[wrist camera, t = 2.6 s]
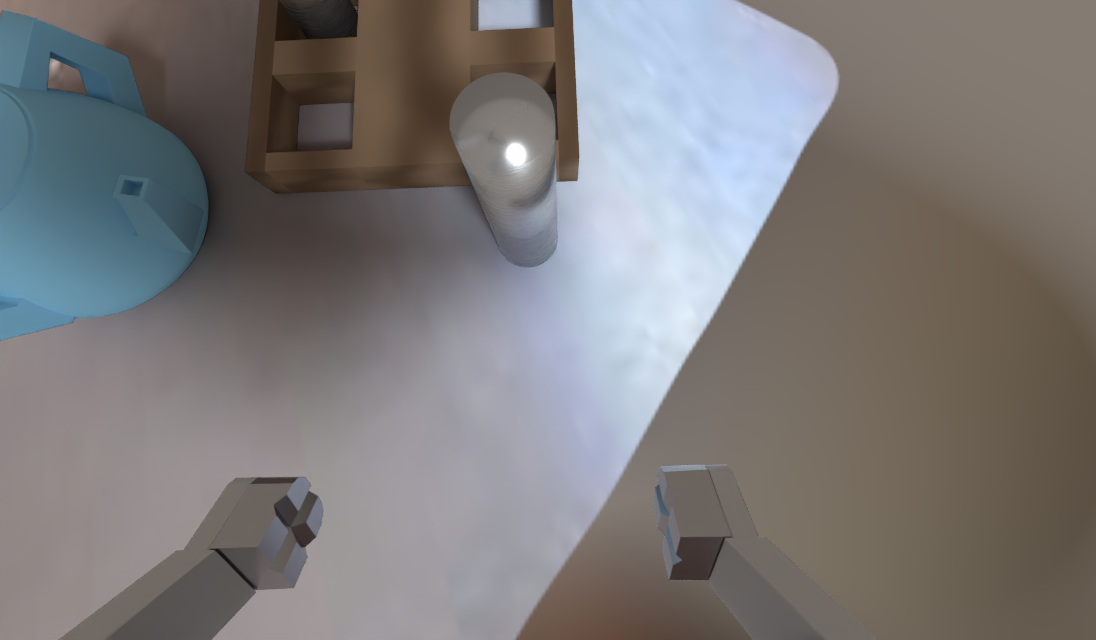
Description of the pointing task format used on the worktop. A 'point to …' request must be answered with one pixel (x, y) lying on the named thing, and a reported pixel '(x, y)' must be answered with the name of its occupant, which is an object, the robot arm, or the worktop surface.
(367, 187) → the socket board
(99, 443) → the worktop surface
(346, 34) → the pin
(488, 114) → the pin
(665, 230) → the worktop surface
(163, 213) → the teapot
